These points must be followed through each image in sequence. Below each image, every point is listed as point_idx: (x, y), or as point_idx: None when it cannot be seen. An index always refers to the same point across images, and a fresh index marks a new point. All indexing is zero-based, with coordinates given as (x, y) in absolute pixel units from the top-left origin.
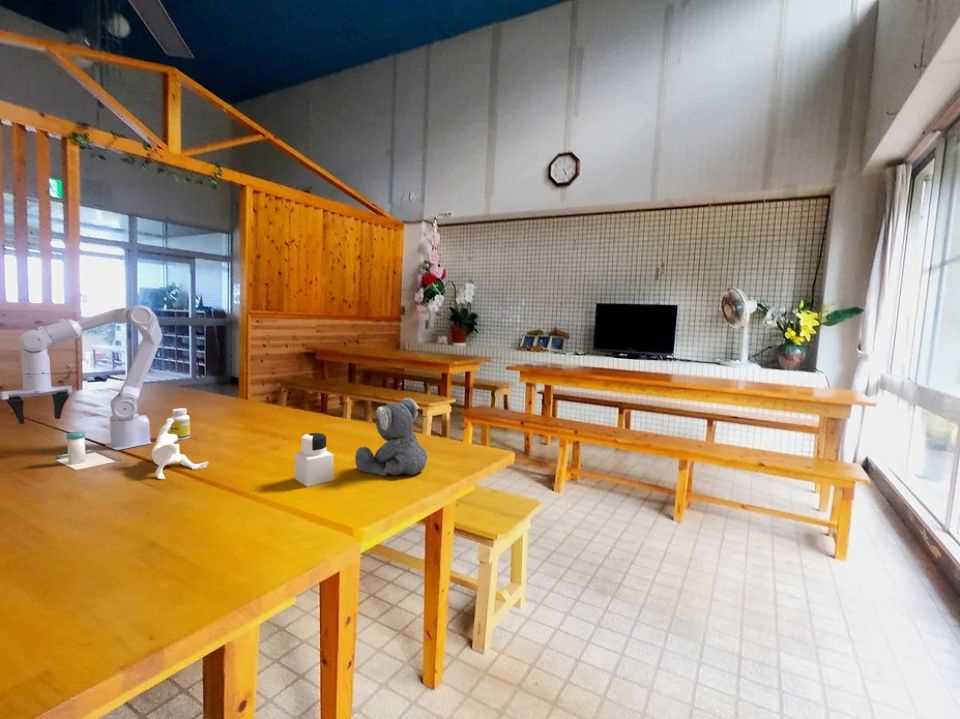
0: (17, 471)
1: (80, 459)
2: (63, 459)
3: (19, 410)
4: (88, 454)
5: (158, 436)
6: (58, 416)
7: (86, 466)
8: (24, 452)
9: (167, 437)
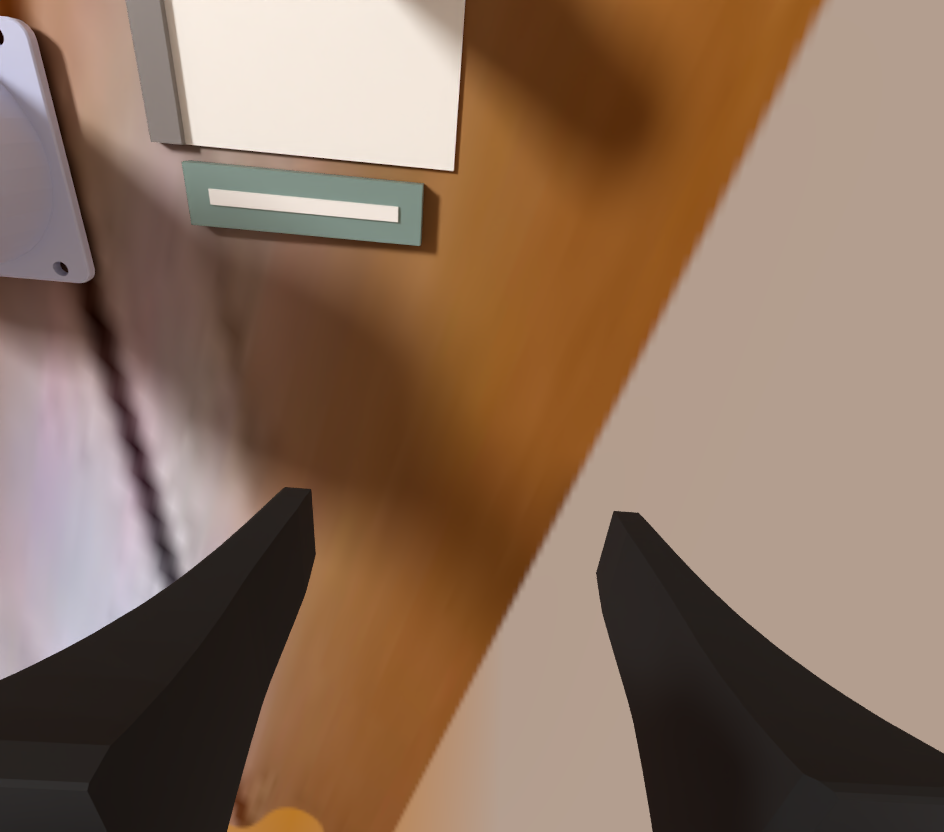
0: (730, 82)
1: None
2: (417, 132)
3: (734, 636)
4: (244, 116)
5: None
6: (290, 502)
7: None
8: (480, 531)
9: None
